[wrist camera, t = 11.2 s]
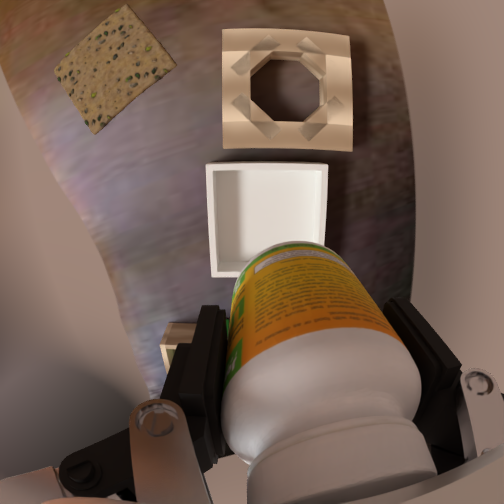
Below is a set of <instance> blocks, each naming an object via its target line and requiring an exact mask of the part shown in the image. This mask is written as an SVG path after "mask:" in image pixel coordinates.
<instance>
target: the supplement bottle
mask: <svg viewBox="0 0 504 504" xmlns="http://www.w3.org/2000/svg"><path fill="white" fill-rule="evenodd" d="M420 398H421V378H420V374H419V371H418V368H417V366H416V364H415V362H414V360H413V359H412V357H411V355H410V353H409V351H408V350H407V348H406V347H405V345H404V343H403V342H402V340H401V339H400V337H399V336H398V335H397V333H396V332H395V330H394V329H393V328H392V326H391V325H390V323H389V322H388V321H387V319H386V318H385V316H384V315H383V313H382V312H381V311H380V309H379V308H378V306H377V305H376V304H375V302H374V301H373V300H372V298H371V297H370V295H369V294H368V293H367V291H366V290H365V288H364V287H363V286H362V284H361V283H360V282H359V280H358V279H357V277H356V276H355V274H354V273H353V272H352V271H351V269H350V268H349V267H348V265H347V264H346V263H345V262H344V261H343V259H342V258H341V257H340V256H339V255H337V254H336V253H335V252H334V251H332V250H331V249H329V248H327V247H325V246H323V245H320V244H318V243H314V242H308V241H288V242H283V243H279V244H276V245H273V246H271V247H269V248H267V249H265V250H263V251H261V252H260V253H258V254H257V255H256V256H254V257H253V258H252V259H251V260H250V261H249V262H248V263H247V264H246V266H245V267H244V268H243V270H242V271H241V273H240V275H239V276H238V278H237V281H236V284H235V287H234V292H233V297H232V306H231V316H230V325H229V335H228V345H227V354H226V363H225V372H224V382H223V390H222V399H221V428H222V432H223V435H224V438H225V440H226V442H227V444H228V445H229V447H230V448H231V450H232V451H233V452H234V453H235V454H236V455H237V456H238V457H239V458H240V459H242V460H243V461H245V462H246V463H248V464H249V465H250V466H249V468H248V479H247V504H341V503H347V502H351V501H356V500H361V499H365V498H369V497H373V496H377V495H381V494H385V493H388V492H392V491H395V490H398V489H401V488H405V487H408V486H411V485H414V484H416V483H419V482H422V481H425V480H427V479H430V478H433V477H435V476H437V470H436V467H435V465H434V462H433V460H432V457H431V455H430V452H429V450H428V447H427V445H426V442H425V439H424V436H423V434H422V433H421V432H420V431H419V430H418V429H417V427H416V425H415V424H414V423H413V422H412V420H413V418H414V416H415V414H416V412H417V409H418V406H419V403H420Z"/></svg>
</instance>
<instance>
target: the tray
mask: <svg viewBox="0 0 504 504" xmlns="http://www.w3.org/2000/svg"><path fill="white" fill-rule="evenodd" d="M206 183H207V206H208V226H209V243H210V259H211V273H212V277H238V276H239V275H240V273H241V271H242V270H243V268H244V267H245V266H246V264H247V263H248V262H249V261H250V260H251V259H252V258H253V257H254V256H256V255H257V254H258V253H260V252H261V251H263V250H265V249H267V248H269V247H271V246H273V245H276V244H279V243H283V242H288V241H308V242H314V243H318V244H320V245H323V246H324V240H325V225H326V208H327V186H328V165H327V164H324V163H321V162H288V161H242V162H210V163H208V164H206Z"/></svg>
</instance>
